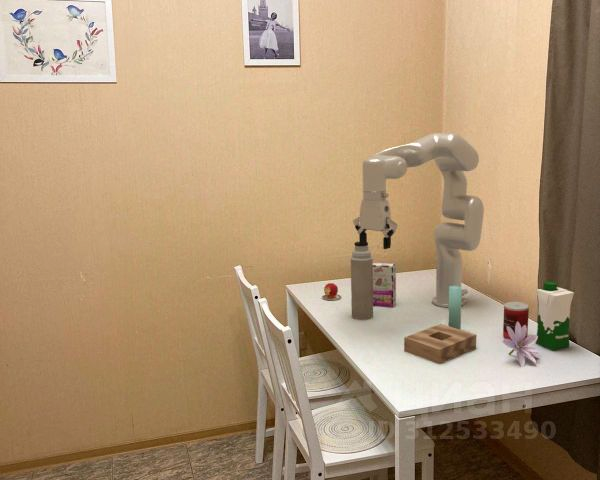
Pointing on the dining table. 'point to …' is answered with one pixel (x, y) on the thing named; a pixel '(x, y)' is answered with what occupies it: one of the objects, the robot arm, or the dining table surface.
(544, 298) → the milk carton
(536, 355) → the water lily
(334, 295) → the apple
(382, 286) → the candy bar box
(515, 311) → the canned food
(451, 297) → the peg
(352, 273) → the thermos bottle
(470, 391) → the dining table surface
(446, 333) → the socket block
